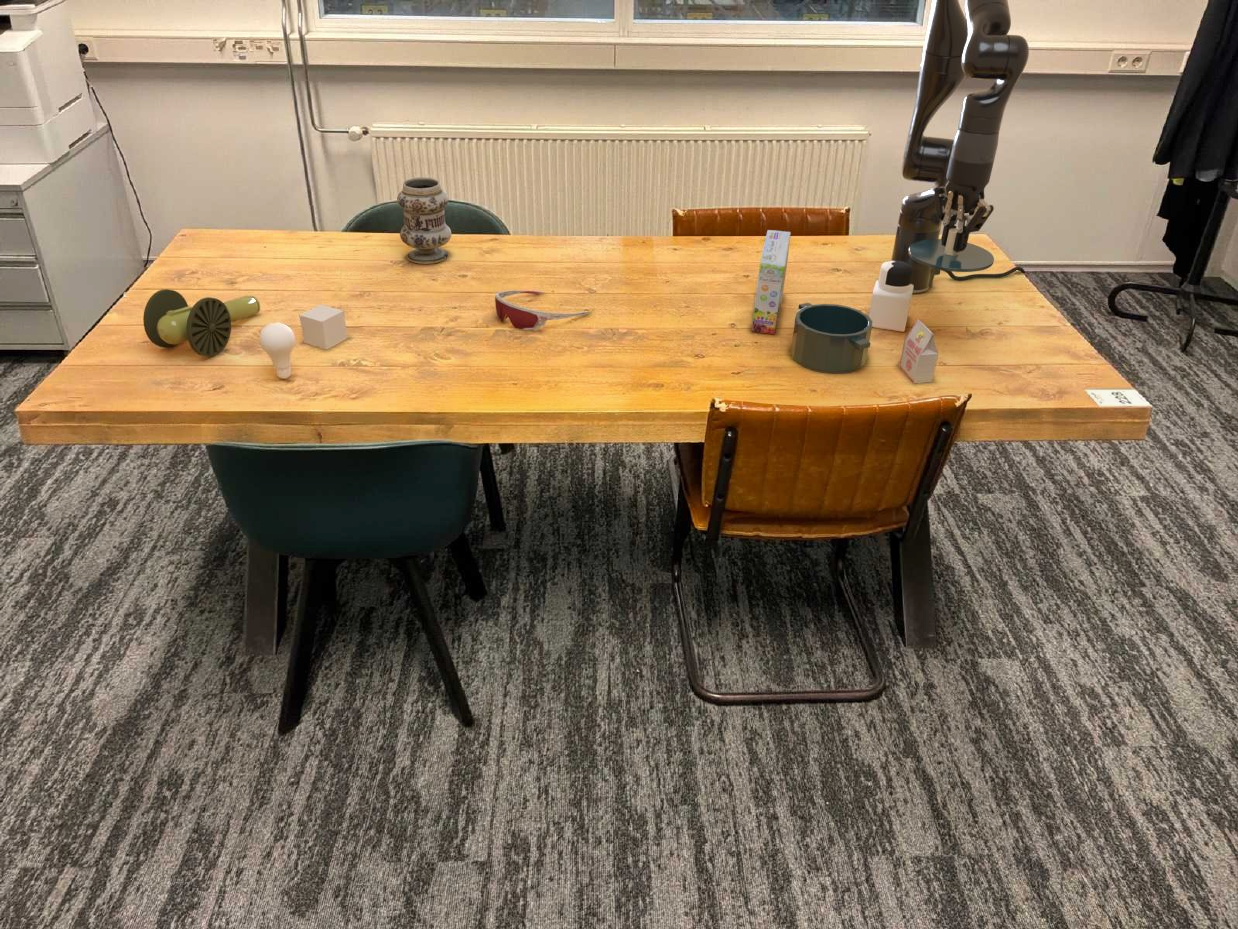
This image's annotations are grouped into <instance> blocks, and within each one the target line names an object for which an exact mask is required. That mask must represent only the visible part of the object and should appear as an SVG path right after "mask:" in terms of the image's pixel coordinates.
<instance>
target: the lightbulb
mask: <svg viewBox="0 0 1238 929" xmlns="http://www.w3.org/2000/svg"><path fill="white" fill-rule="evenodd" d="M258 340H259V345H260V347H261V349H262V351H264V352H265V354H266V355H267V356H268V358H270V360H271V362H272V366H273V367H274V369H275V373H276V376H277V377H278V378H279V379H283V380H287V379H288V378H289V377H291V375H292V367H291V365H292V360H291V358H292V352H293V350H294V347H295V343H296V336H295V334H294V332H293V330H292V329H291V327H289V326H288V325H286V324H284V323H282V322H271V323H268V324H266V325H265V326H264V327H263V328H262V329H261V331H260V333H259V337H258Z"/></svg>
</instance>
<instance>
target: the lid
mask: <svg viewBox="0 0 1238 929" xmlns="http://www.w3.org/2000/svg"><path fill="white" fill-rule="evenodd" d="M957 232H958V227H956V228H951V229H949V232H948V237H947V242H946V246H943V245H942V244H941V243H942V241H941V238H939V239H929V240H922V241H918V242H916V243H913V244H912V245H911V246H910V247H909V255H910V257H911V258H912V259H914V260H915V261H917V262H919V263H921V264H923V265H926V266H929V267H932V268H935V269H940V270H941V271H942V270H945V271H951V272H952V273H973V272H982V271H984V270H985V271H986V270H988V269H989V268H991V267H992V266H993V265H994V262H995V257H994V254H992V253H991V252H990V251H989V250H987V249H985V248H984V247H981V246H979V245H976V244H973V243H971V242H967V246H966V248H965V249H964V250H963V251H960V252H955V251H953V247H954V242H955V238H956V233H957Z"/></svg>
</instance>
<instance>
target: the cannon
mask: <svg viewBox="0 0 1238 929" xmlns="http://www.w3.org/2000/svg"><path fill="white" fill-rule="evenodd" d="M260 311H261V304H260V301H259V300H258V298H257V297H255V296H254V295H243V296H240V297H237V298H234V299H230V300H226V301H224V302H223V301H222V300H221V299H218V298H215V297H210V296H209V297H202V298H201V299H199V300H197V301H196V302H195V304H193V305H192V306H189V305H188V302H187V300H186V298H185V297H184V296H183V295H182V293H180V292H179V291H176V290H174V289H168V288H164V289H159V290H157V291H156V292H154V293H153V294H152V295H151V296H150V297H149V299H148V300H147V302H146V305H145V307H144V311H143V319H142V320H143V329H144V332H145V334H146V336H147V339H148V340H149V341H150V342H151V343H152V344H154V345H155V346H157V347H159V348H163V349H170V348H174V347H176V346H178V345H179V344H182V343H184V342H187V341H188V344H189V346H190V347H191V349H192V350H193V351H194V352H195V353H196V354H197V355H199V356H201V357H207V358H212V357H216V356H217V355H219V354H220V353H221V352H222V351H224V349H225V348H226V346H227V344H228V343H229V341H230V336H231V332H232V323H234V322H235V323H236V322H238V321H243V320H244V319H247V318H248V319H249V318H251V317H254V316H256V315H257V314H259V313H260Z"/></svg>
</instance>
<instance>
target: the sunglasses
mask: <svg viewBox="0 0 1238 929" xmlns="http://www.w3.org/2000/svg"><path fill="white" fill-rule="evenodd" d="M519 294H529V295H541V294H542V291H539V290H531V289H530V290H528V289H527V290H526V289H522V290H518V289H517V290H516V289H515V290H503V291H499V292H496V293H495V296H494V303H495V313H496V318H497V319H498V320H499V321H500V322H502V323H503V322H504V323H505V321H506V319H508V320H509V322H510V323H511V325H512V326H513V328H514V329H517V330H522V331H535V330H539V329H540V328H542V327H544V326H546V324H547V322H548V321H554V320H555V321H556V320H563V319H569V318H572V317H580V316H586V315H588V313H589V310H584V311H578V312H569V313H568V312H567V313H566V312H565V313H563V312H562V313H561V312H547V311H542V310H537V309H532V308H527V307H524V306H520V305H517V304H514V303H511V302H509V301H507V300H505V299H504V298H506V297H509V296H512V295H519Z"/></svg>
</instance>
